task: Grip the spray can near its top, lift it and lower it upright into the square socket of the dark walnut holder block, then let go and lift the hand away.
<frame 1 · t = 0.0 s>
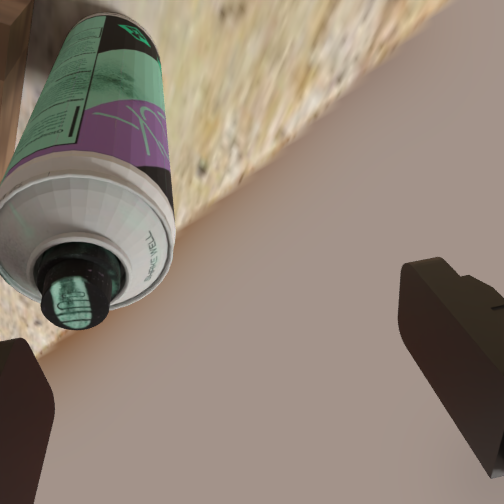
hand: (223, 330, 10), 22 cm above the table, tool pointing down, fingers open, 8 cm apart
spray can: (113, 61, 27), on the table
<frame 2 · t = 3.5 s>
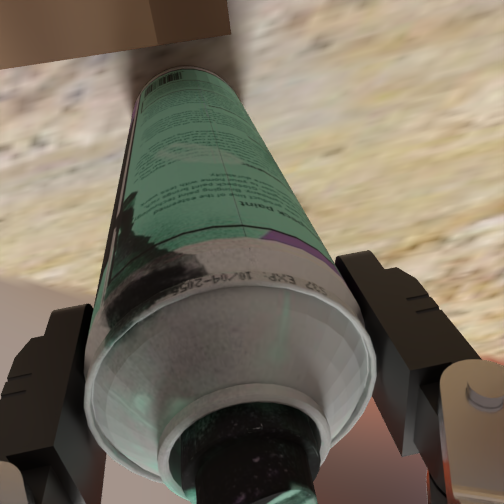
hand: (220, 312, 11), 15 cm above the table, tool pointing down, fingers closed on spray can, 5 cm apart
spray can: (189, 122, 23), on the table, touching gripper
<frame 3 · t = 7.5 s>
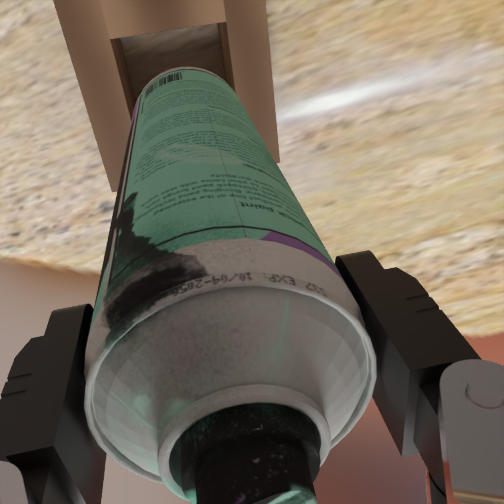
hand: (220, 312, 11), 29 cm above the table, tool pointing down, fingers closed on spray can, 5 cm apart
spray can: (189, 122, 23), point 14 cm above the table, touching gripper
walnut holder: (177, 72, 35), on the table
when the fingers open (16 cm above the table, at t = 11.4 s): spray can drops 1 cm, resting in walnut holder.
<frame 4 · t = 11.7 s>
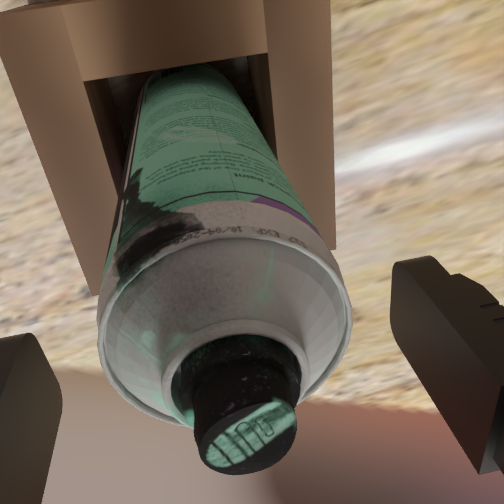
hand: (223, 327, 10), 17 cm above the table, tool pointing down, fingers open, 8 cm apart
spray can: (189, 114, 25), resting in walnut holder
walnut holder: (187, 116, 24), on the table
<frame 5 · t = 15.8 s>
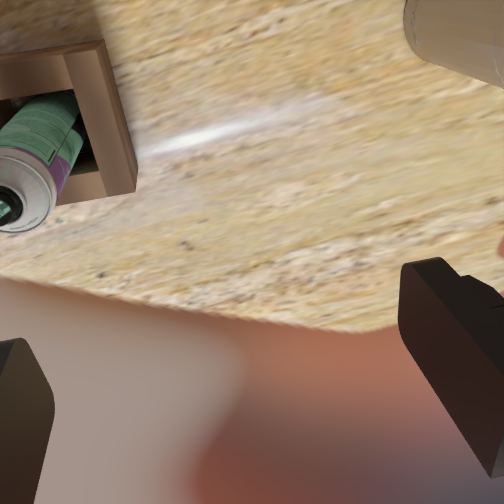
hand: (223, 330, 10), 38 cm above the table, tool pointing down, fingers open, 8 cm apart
spray can: (59, 117, 43), resting in walnut holder
walnut holder: (57, 118, 43), on the table
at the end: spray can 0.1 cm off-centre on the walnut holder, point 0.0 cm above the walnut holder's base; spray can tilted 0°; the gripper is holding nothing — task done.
